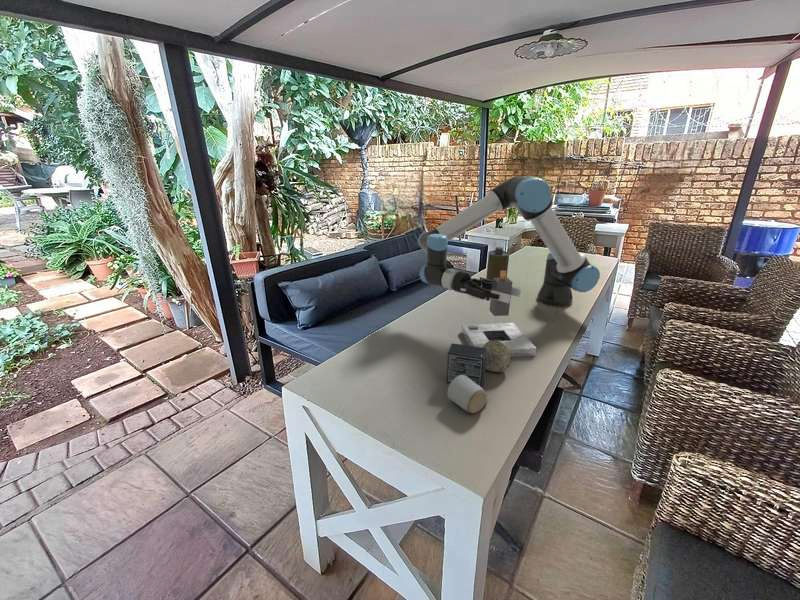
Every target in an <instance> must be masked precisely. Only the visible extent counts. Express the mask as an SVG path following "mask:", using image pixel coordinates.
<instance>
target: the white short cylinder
mask: <svg viewBox="0 0 800 600" xmlns="http://www.w3.org/2000/svg"><path fill="white" fill-rule="evenodd" d="M447 397H448V399H449V400H450V401H452V402H453V403H454V404H456V405H457V406H458V407H460V408H461V409H463V410H464V411H465V412H467V413H470V414H476V413H478V412H479V411H481V410H482V408H483V407H484V406H485V404H486V403H488V401H489V400H490V399H489V398H490V397H489V395H488V394H487V392H486V391H485V389H483V387H482V388H481V387H480V386H479V385H477V384H476V383H475V382H473V381H472V380H471V379H469V378H468V377H467V376H465V375H459V376H457V377H456V378H454V379H453V380H452V382H451V383H450V384H449V385H448V387H447Z"/></svg>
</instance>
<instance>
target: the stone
mask: <svg viewBox="0 0 800 600" xmlns="http://www.w3.org/2000/svg"><path fill="white" fill-rule="evenodd" d="M483 348H487V352H486V364H485V371H490V372H495V373H496V372H497V373H503V372H506V371H507V370H508V369H509V368H510V365H511V361H512V360H511V358H512V357H511V355H510V351H509V349H508V348H507V347H506V346H505V345H504V344H503V343H501V342H499V341H488V342H487V343H486V344H485V345H484V346H483Z"/></svg>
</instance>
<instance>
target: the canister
mask: <svg viewBox="0 0 800 600" xmlns="http://www.w3.org/2000/svg"><path fill="white" fill-rule="evenodd" d="M487 254H488V255H487V268H486V277H485V279H489V280H493V278H500V272H501V271H502V270H504V271H506V277H507V278H508V269H509V262H510V261H509V259H510V255H511V254H510V253H509V252H508V251H504V249H503V247H501V246H500V247H498V246H497V247H495V249H494V250H490V251H488V253H487Z"/></svg>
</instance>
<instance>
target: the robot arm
mask: <svg viewBox="0 0 800 600" xmlns="http://www.w3.org/2000/svg"><path fill="white" fill-rule="evenodd" d="M552 196H553V193H552V189H551V186H550V185H549V183H548V182H547V181H546V180H544V179H543V178H539V177H536V176H521V175H516V176H513V177H510V178H508V179H506V180H505V181H503V182H501V183H499V184H498V185H496V186H495V187H493V188H492V189H490V190H489V191H488V192H487V195H486V196H484V197H482V198H481V199H479V200H477V201H476V202H474V203H473V204H471V205H470V206H468V207H467V208H465V209H463V210H462V211H461V212H459V213H457V214H456V215H454V216H453V217H450V218H449V219H448V220H446V221H445V222H443V223H441V224H439V225H438V226H436V227H435V228H434V229H431V230H430V231H424V232H422V233H420V235H419V237H418V239H417V243H418V246H419V248H420V249H421V250H422V251H423V252H424V254H426V263H425V264H424V265H422V266H421V269H420V271H419V278H420V280H421V281H422V282H423V283H426V284H428V285H431V286H436V287H439V288H443V289H447V290H448V291H454V292H457V293H460V294H466V295H469V296H471V297H475V298H477V299H480V300H485V301H487V302H488V301H490V300H491V299H494V300H498V301H502V302H505V303H509V302H510V303H511V299H510V295H509V294H505V293H501V292H497V291H493V290H492V280H489V279H486V277H485V278H484V277H479V279H478V278H475V277H474V278H472V276H471V274H469V273H468V272H464V271H459V270H456V269H452V268H447V259H448V258H447V255H448V247H449V246H448V245H449V244H448V242H450V241H452V240H453V239H455V238H457V237H458V236H460V235H461V234H463V233H465V232H467V231H468V230H470V229H471V228H473V227H474V226H476V225H477V224H479V223H480V222H482V221H484V220H485V219H487V218H489V217H490V216H492V215H494V214H495V213H497V212H503V211H504V210H506V209H509V208H514V209H515V208H516V209H517V211H518V212H519V213H520V215H521V216H522V218H523V220H525V221H527V222H528V221H530V222H531V224H532V226H533V227H534V229H535V231H536V232H537V233H538V235H539V237H540V238H541V240H542V242H543V243H544V245H545V246H546V248H547V249H548V251H549V252H548V253H547V257H546V260H545V261H546V262H545V269H544V275H543V283H542V285H541V287H540V289H539V291H538V292H537V297H536V299H537V301H538V302H539V303H541V304H543V305H544V304H545V305H548V306H552V307H568V306H571V305H572V304H573V299H574V298H573V293H572V290H573V291H576V292H578V293H587V292H589V291H591V290H593V288H595V287H596V286H597V285H598V283H599V281H600V278H601V277H600V276H601V272H600V269H599V268H598V267H596V266H595V265H594V264H591V263H590V261H589V259H588V258H587V256H586V255H585V254H584V253H583V252H579V251H578V250H577V248H576V246H575V245H574V243H573V241H572V240H571V238H570V236H569V235H568V233H567V231H566V230H565V228H564V226H563V225H562V223H561V221H560V220H559V218H558V216H557V214H556V213H555V211H554V210H553V208H552V207H553V204H554V201H553V199H552ZM491 290H492V291H491ZM521 293H522V288H519V287H514V286H512V291H511V296H513V297H518V298H520V297H521V295H522V294H521Z"/></svg>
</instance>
